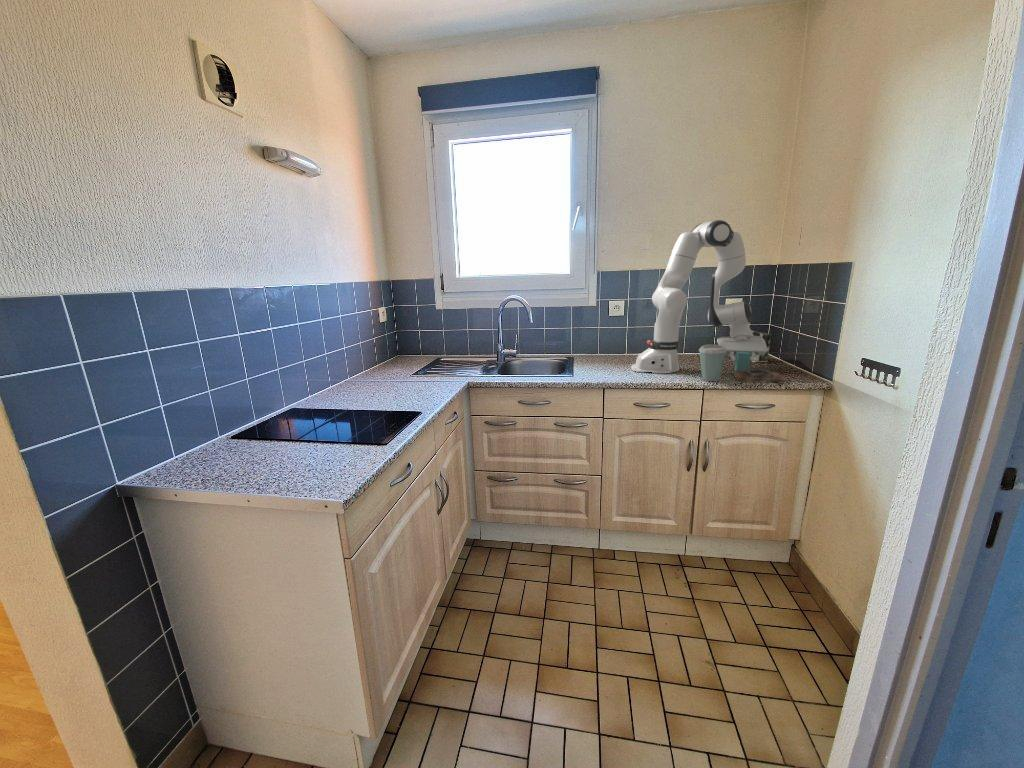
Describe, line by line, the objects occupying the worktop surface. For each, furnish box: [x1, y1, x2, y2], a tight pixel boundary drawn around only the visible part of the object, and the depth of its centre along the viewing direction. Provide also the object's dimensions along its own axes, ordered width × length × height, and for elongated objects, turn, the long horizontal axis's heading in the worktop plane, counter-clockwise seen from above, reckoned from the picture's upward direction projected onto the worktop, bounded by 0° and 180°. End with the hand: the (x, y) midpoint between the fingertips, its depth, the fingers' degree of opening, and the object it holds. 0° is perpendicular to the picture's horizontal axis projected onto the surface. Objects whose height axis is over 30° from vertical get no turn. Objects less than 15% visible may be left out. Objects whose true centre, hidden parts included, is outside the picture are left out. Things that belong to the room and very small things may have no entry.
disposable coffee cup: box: [698, 343, 727, 382], centre depth 176 cm, size 11×11×15 cm
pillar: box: [733, 352, 751, 371], centre depth 190 cm, size 5×5×9 cm
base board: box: [731, 368, 788, 383], centre depth 178 cm, size 18×13×3 cm
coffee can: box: [750, 331, 772, 363], centre depth 209 cm, size 10×10×14 cm
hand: (742, 361), depth 189 cm, fingers closed on pillar, 5 cm apart
